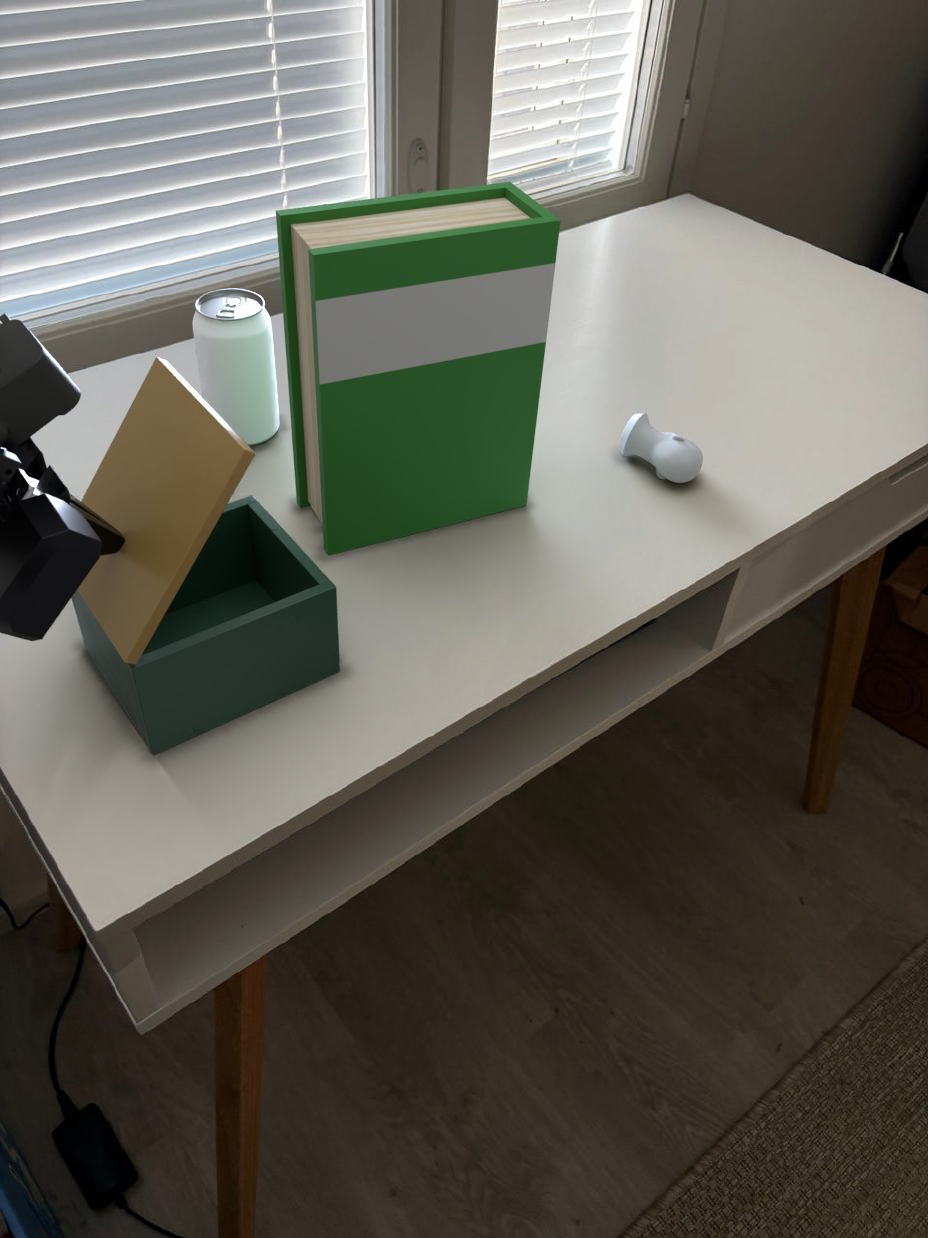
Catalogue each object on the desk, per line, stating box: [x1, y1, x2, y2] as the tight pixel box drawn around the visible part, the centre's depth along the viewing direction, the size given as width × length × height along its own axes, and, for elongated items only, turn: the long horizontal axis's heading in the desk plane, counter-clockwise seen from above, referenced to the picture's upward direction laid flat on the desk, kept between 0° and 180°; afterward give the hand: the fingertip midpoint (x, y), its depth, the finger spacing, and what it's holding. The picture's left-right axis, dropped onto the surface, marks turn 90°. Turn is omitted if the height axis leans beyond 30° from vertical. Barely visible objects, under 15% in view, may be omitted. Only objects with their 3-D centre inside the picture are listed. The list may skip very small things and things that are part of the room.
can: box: [192, 288, 280, 447], centre depth 87 cm, size 6×6×12 cm
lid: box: [77, 356, 256, 664], centre depth 59 cm, size 14×12×1 cm
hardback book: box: [275, 181, 561, 556], centre depth 76 cm, size 18×7×24 cm, turn 116°
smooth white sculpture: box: [618, 412, 704, 484], centre depth 89 cm, size 4×8×5 cm
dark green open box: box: [70, 495, 341, 756], centre depth 67 cm, size 14×12×8 cm
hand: (119, 543), depth 60 cm, fingers closed, pressing on lid
